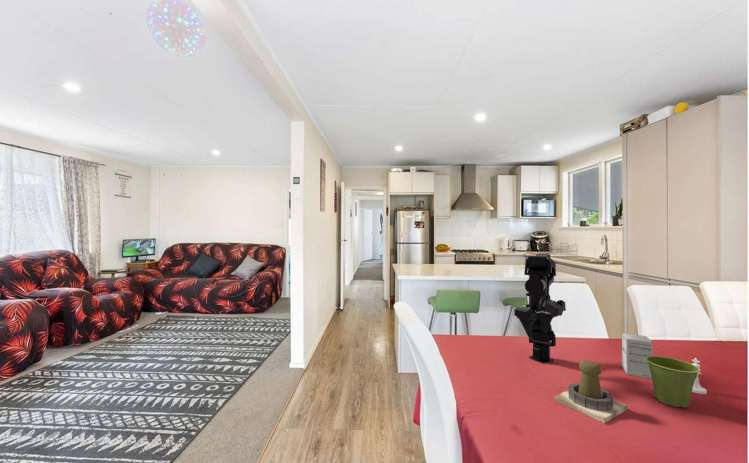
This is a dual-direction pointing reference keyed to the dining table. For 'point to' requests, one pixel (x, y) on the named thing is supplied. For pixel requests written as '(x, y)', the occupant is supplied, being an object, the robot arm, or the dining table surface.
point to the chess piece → (696, 386)
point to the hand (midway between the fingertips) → (537, 334)
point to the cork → (590, 379)
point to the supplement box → (636, 355)
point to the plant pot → (672, 380)
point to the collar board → (592, 412)
